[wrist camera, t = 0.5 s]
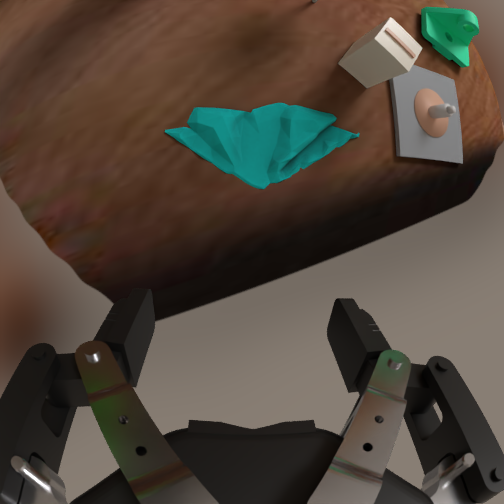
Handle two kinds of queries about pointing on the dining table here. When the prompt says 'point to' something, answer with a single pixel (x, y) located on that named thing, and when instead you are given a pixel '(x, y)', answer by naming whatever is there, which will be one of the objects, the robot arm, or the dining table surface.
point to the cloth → (261, 140)
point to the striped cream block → (381, 54)
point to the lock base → (426, 116)
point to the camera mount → (450, 31)
